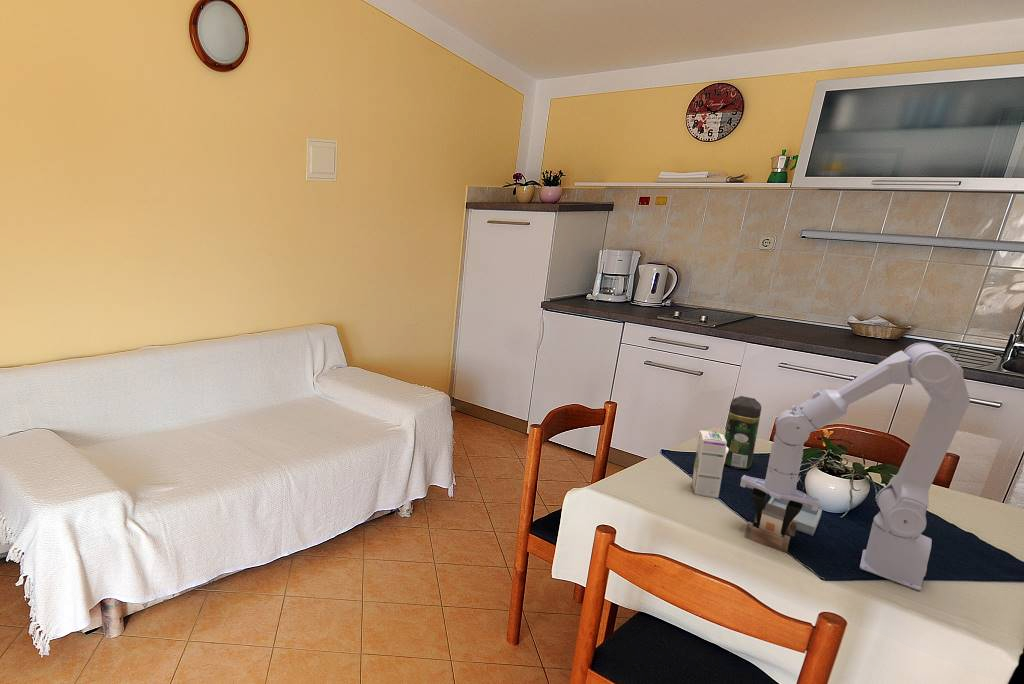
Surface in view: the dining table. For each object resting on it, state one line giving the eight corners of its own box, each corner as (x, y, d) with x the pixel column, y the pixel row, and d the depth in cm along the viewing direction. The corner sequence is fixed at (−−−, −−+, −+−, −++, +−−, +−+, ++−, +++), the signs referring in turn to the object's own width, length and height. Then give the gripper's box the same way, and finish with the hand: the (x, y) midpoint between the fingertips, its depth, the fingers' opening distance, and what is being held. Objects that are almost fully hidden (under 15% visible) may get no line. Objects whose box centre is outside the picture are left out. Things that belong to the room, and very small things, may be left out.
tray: (820, 517, 121) (822, 509, 120) (813, 536, 113) (815, 527, 112) (772, 501, 127) (773, 493, 126) (761, 517, 119) (763, 509, 118)
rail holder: (794, 534, 113) (797, 521, 112) (786, 553, 105) (789, 538, 105) (755, 520, 117) (757, 507, 117) (744, 536, 110) (747, 523, 109)
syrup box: (718, 498, 126) (729, 441, 123) (693, 494, 127) (702, 437, 124) (714, 487, 131) (724, 432, 128) (690, 483, 132) (699, 429, 129)
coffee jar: (722, 453, 153) (732, 392, 149) (751, 460, 150) (763, 397, 146) (718, 465, 145) (729, 400, 141) (750, 473, 141) (762, 407, 137)
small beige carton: (782, 535, 112) (787, 510, 110) (778, 544, 109) (783, 517, 107) (761, 528, 114) (766, 502, 113) (757, 536, 111) (762, 509, 110)
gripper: (741, 462, 109) (730, 522, 112) (820, 487, 101) (806, 551, 104) (749, 453, 115) (739, 510, 118) (825, 475, 106) (812, 536, 109)
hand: (771, 528), depth 111 cm, fingers closed on small beige carton, 4 cm apart
